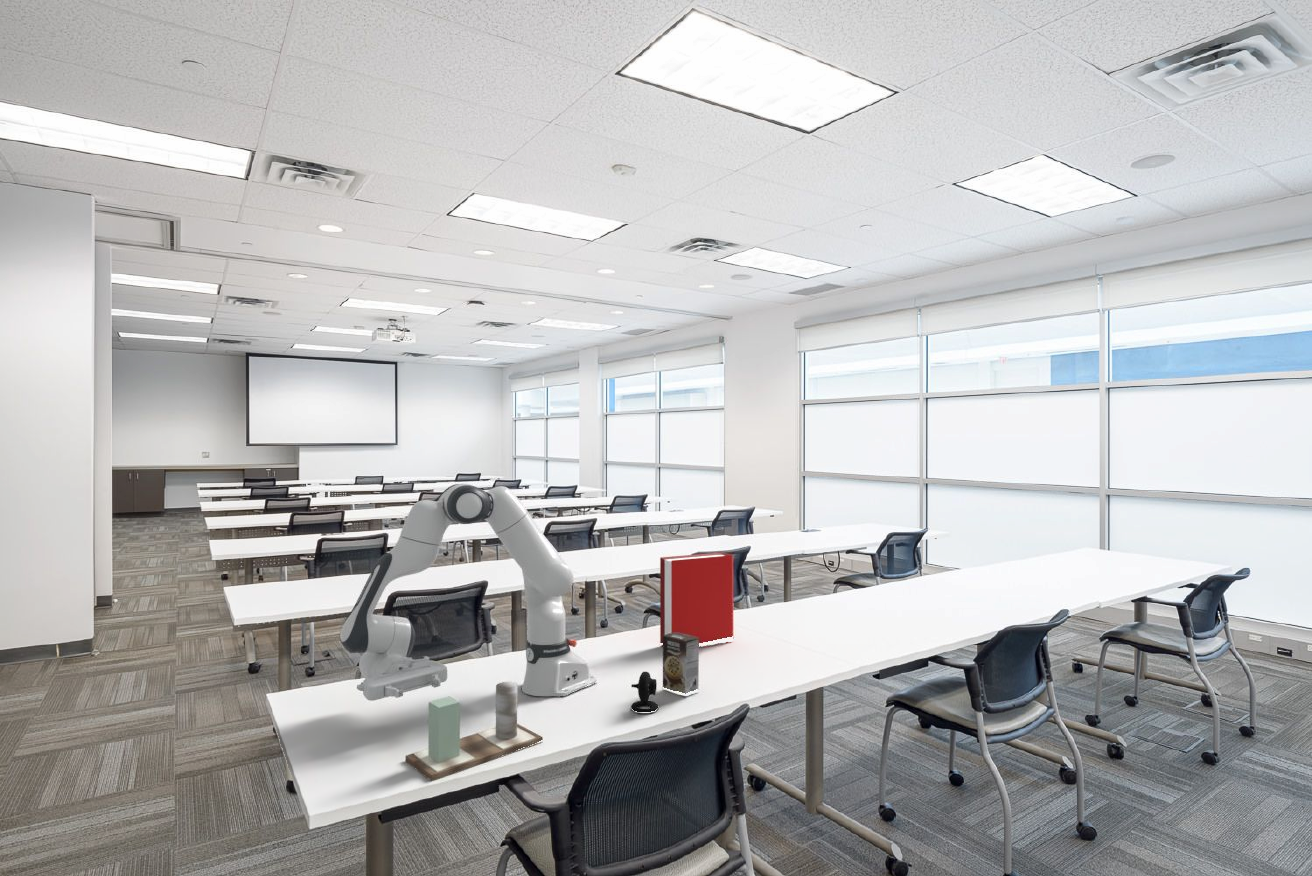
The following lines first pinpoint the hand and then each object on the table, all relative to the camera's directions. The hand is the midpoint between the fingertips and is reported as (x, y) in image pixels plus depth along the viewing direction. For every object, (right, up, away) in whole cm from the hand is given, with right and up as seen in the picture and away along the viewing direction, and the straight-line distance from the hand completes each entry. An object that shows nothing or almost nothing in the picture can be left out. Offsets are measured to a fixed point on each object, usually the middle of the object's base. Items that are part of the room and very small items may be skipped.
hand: (419, 688), depth 163 cm
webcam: (+54, -13, +19) cm, 59 cm away
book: (+73, -15, +82) cm, 111 cm away
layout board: (+16, -12, -7) cm, 21 cm away
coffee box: (+65, -13, +33) cm, 74 cm away
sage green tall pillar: (+10, -11, -12) cm, 19 cm away
